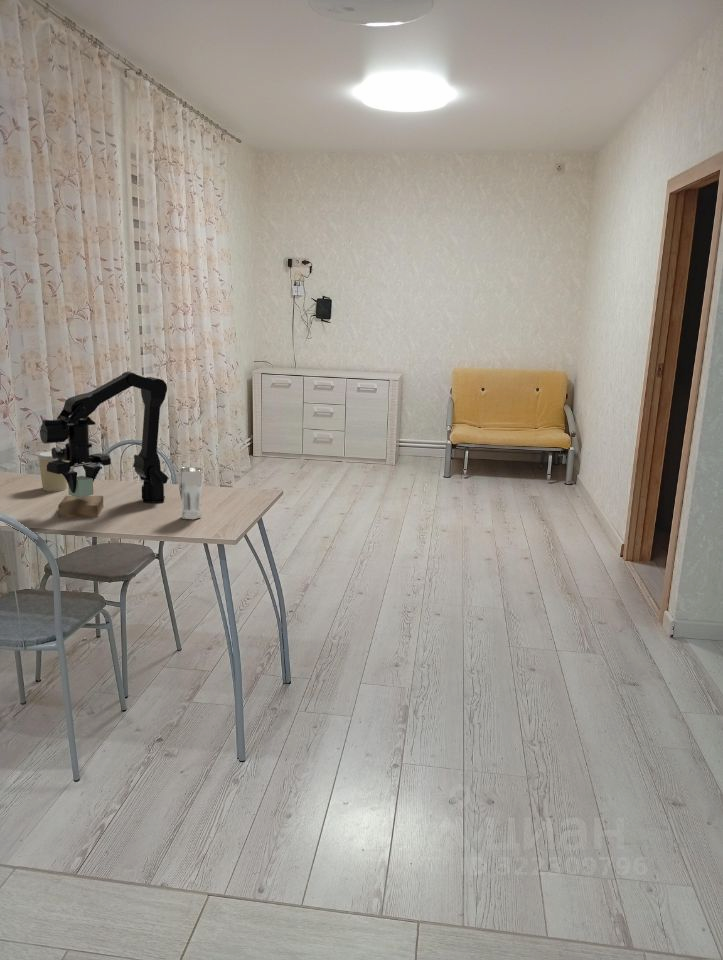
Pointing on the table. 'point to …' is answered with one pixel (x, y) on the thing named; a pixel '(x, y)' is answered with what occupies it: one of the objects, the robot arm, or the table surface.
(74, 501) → the walnut block
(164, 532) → the table surface
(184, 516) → the beer glass
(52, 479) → the coffee cup
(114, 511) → the table surface
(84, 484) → the sage block
